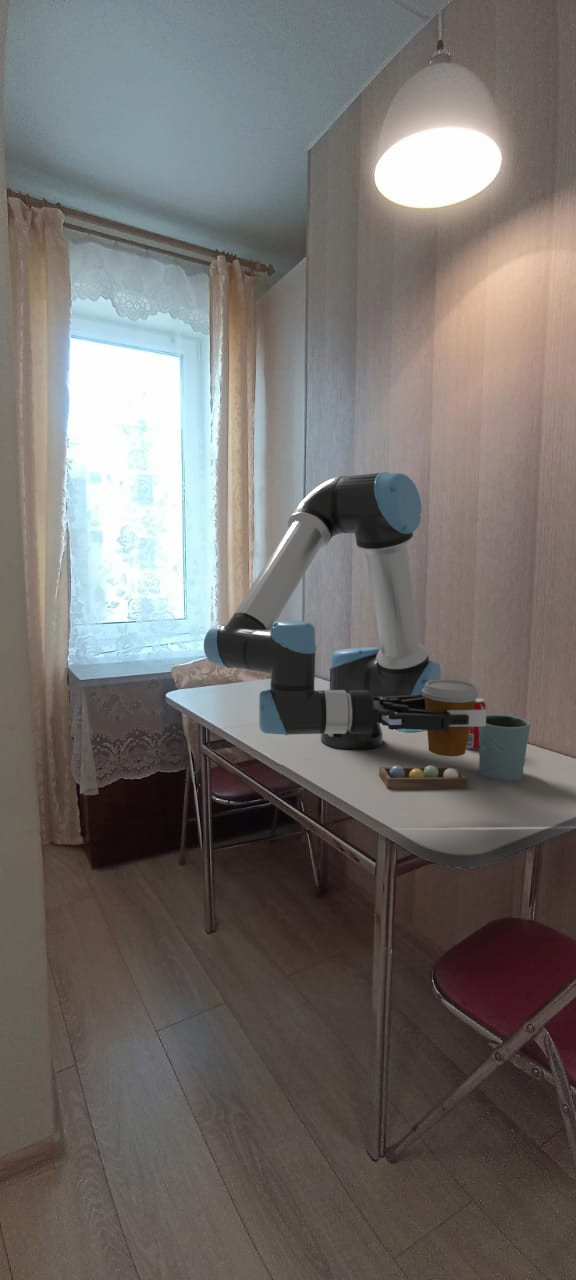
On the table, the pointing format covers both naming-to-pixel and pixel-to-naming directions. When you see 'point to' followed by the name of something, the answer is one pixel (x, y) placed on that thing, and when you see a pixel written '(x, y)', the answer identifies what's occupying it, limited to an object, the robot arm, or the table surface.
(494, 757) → the teal embossed cup
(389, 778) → the walnut dish
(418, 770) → the amber marble
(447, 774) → the ivory marble
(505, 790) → the table surface
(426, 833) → the table surface
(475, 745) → the soda can
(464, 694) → the disposable coffee cup
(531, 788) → the table surface
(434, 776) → the sage green marble
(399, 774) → the slate blue marble
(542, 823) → the table surface
